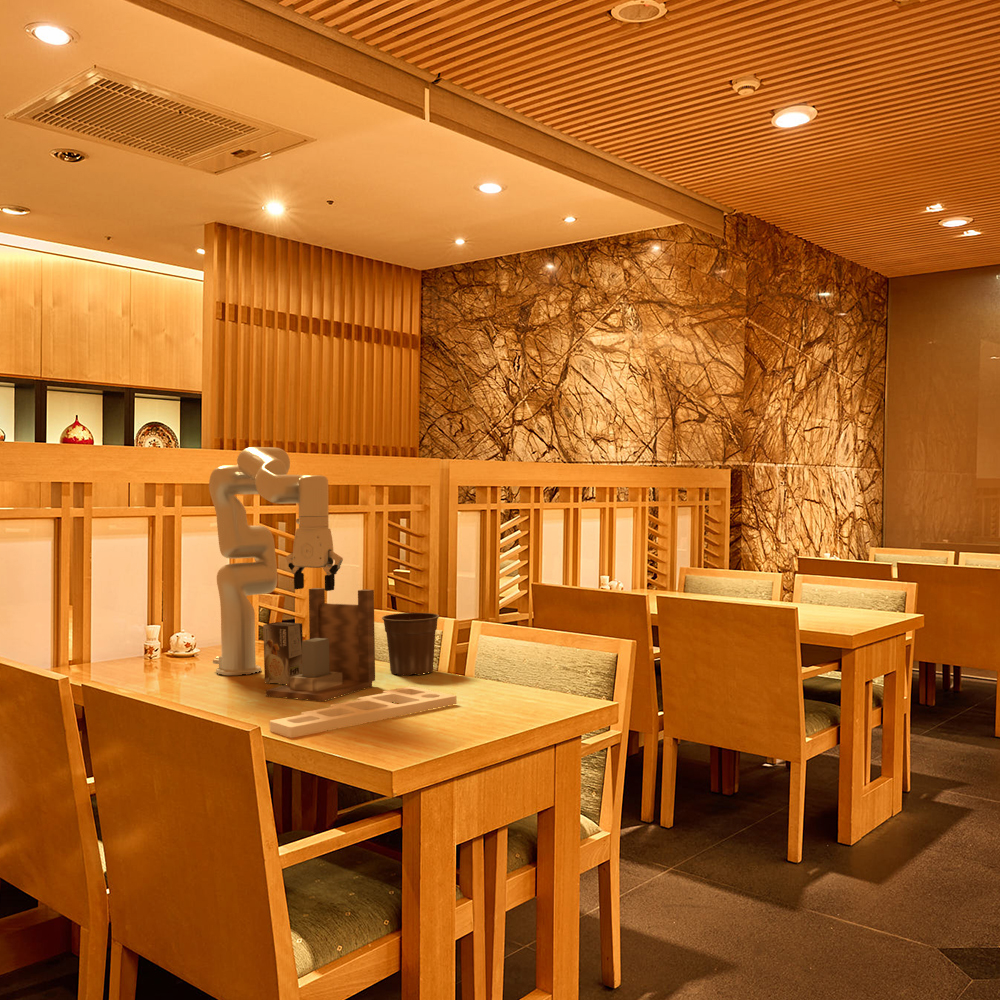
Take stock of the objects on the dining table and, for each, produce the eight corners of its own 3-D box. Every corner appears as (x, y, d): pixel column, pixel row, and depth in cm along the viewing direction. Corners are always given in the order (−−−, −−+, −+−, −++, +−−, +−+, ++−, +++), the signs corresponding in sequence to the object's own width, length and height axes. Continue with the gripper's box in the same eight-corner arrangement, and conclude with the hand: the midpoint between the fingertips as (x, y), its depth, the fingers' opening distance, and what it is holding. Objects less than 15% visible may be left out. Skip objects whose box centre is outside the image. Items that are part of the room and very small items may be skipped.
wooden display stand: (264, 696, 247) (262, 595, 247) (317, 681, 266) (315, 588, 267) (325, 701, 239) (323, 597, 239) (375, 686, 258) (373, 589, 258)
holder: (290, 740, 202) (290, 727, 202) (248, 726, 216) (248, 714, 216) (457, 707, 233) (457, 695, 233) (411, 696, 246) (411, 686, 246)
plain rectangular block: (302, 687, 249) (301, 641, 249) (317, 683, 254) (316, 637, 254) (315, 689, 247) (314, 641, 247) (329, 684, 253) (328, 638, 253)
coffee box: (305, 681, 266) (304, 622, 266) (289, 685, 261) (288, 625, 261) (278, 679, 271) (277, 621, 271) (263, 683, 265) (262, 624, 265)
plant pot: (421, 679, 267) (420, 620, 267) (372, 675, 274) (371, 618, 274) (450, 669, 282) (449, 613, 282) (402, 666, 289) (401, 611, 289)
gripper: (277, 523, 251) (278, 589, 252) (332, 524, 244) (332, 592, 244) (296, 522, 258) (296, 587, 258) (350, 523, 250) (350, 589, 251)
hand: (314, 589), depth 251 cm, fingers open, 9 cm apart
